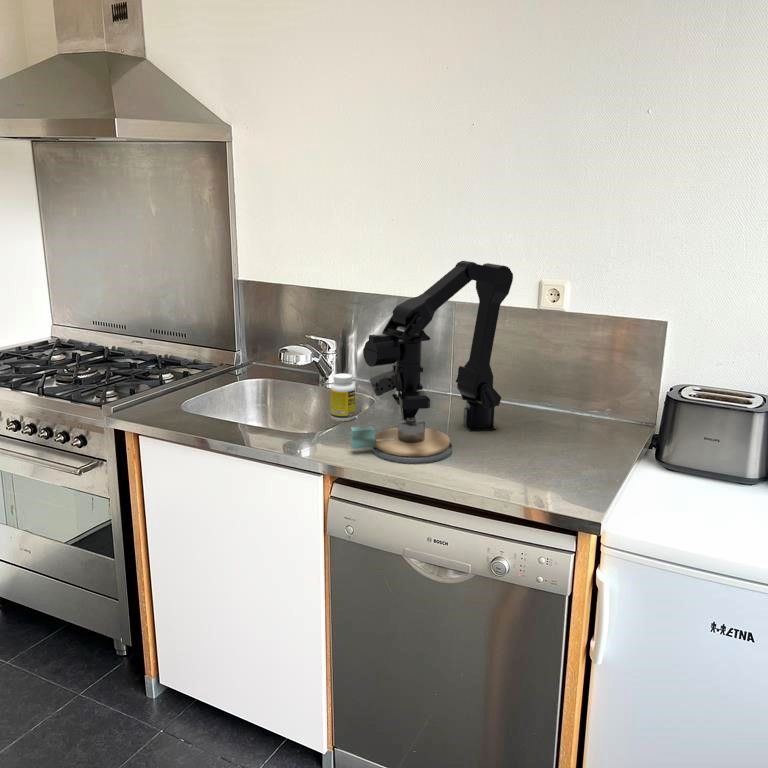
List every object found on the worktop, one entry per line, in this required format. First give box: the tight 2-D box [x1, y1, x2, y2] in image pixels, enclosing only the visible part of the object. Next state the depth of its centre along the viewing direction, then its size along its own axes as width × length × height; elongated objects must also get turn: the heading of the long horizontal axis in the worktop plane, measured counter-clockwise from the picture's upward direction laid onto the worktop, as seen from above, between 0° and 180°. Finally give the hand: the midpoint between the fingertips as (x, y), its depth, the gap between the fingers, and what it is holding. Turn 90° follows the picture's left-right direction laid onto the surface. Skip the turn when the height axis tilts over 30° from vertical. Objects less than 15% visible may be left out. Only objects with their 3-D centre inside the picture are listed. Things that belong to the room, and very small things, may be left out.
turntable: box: [350, 425, 451, 457], centre depth 169 cm, size 22×17×4 cm
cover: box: [397, 416, 426, 443], centre depth 170 cm, size 6×6×5 cm
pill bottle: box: [330, 373, 356, 422], centre depth 191 cm, size 6×6×11 cm
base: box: [370, 442, 453, 465], centre depth 171 cm, size 18×18×1 cm
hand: (406, 427), depth 175 cm, fingers closed
